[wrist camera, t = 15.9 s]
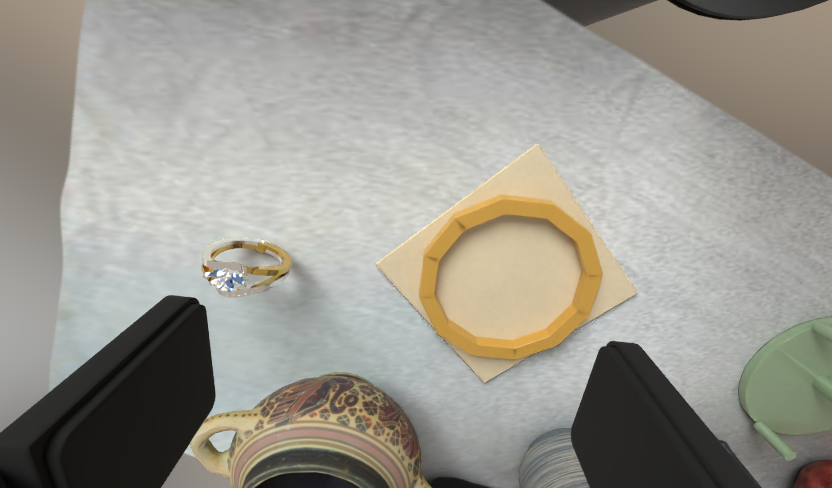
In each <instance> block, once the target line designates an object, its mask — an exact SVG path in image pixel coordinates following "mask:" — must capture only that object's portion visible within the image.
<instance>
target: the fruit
mask: <svg viewBox="0 0 832 488" xmlns="http://www.w3.org/2000/svg"><path fill="white" fill-rule="evenodd" d="M792 488H832V460H820V461H816V462H813V463H811V464H809V465H807V466H805V467H804V468H802V469H801V471H800V473H799V474H798V477H797V479H796V481H795V483H794V485H793V487H792Z"/></svg>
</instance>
